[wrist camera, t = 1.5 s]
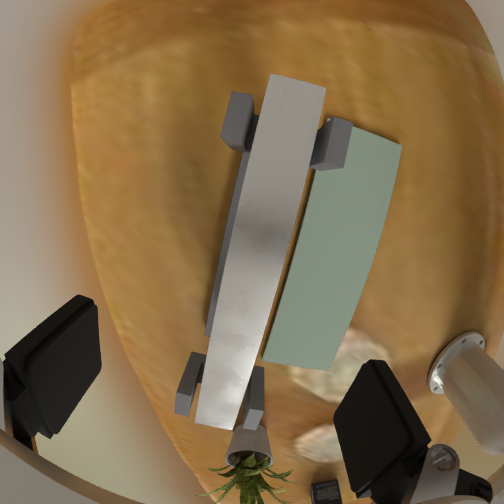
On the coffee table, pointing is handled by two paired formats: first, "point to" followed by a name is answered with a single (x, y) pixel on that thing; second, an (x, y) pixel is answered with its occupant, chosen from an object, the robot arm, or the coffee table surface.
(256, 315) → the steel rail
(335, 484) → the small box
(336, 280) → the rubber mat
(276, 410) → the coffee table surface
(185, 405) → the grey base with uprights
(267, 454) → the house plant
